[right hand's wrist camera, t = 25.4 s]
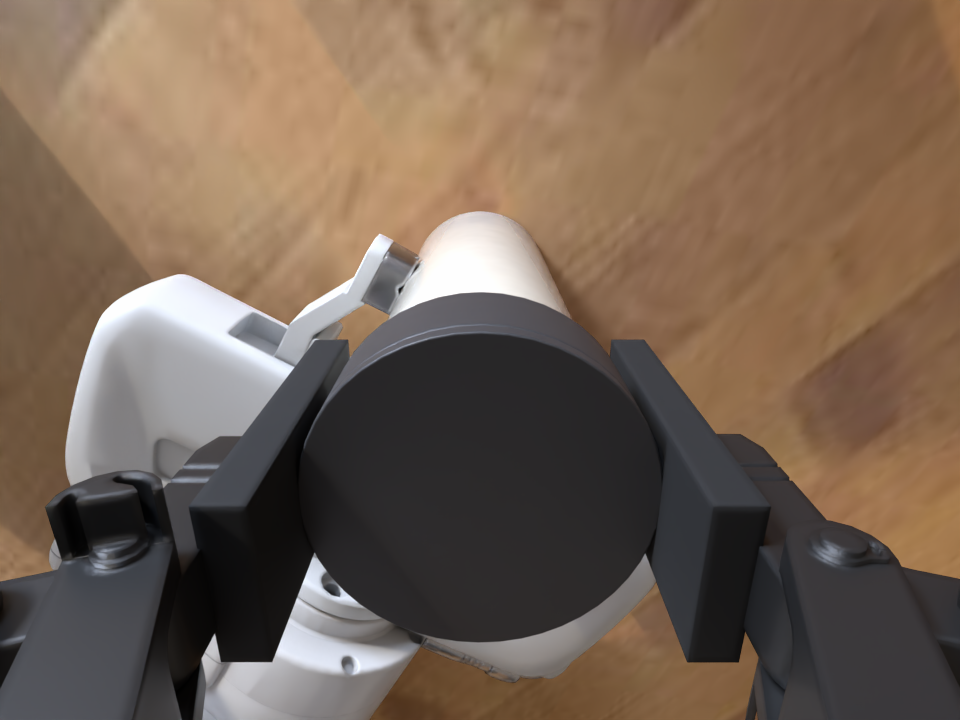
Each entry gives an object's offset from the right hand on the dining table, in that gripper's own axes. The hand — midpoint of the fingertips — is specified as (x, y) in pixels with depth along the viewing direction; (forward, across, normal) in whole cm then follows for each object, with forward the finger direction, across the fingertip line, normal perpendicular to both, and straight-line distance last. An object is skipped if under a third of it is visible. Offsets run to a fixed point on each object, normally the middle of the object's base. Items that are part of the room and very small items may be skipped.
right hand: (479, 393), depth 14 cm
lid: (-4, 0, 0) cm, 4 cm away
